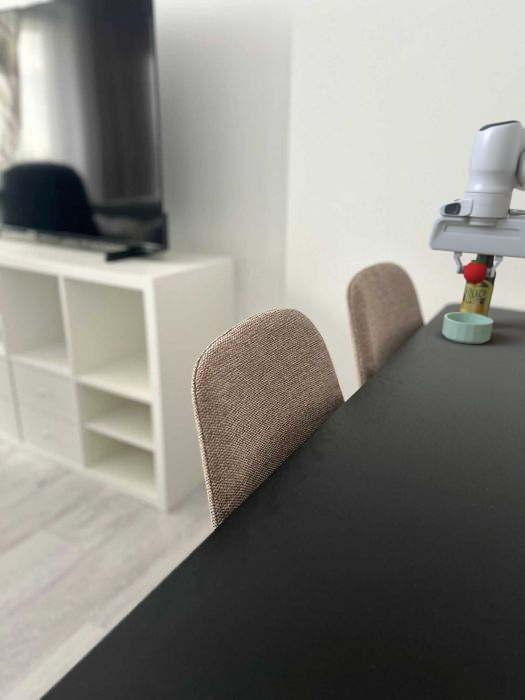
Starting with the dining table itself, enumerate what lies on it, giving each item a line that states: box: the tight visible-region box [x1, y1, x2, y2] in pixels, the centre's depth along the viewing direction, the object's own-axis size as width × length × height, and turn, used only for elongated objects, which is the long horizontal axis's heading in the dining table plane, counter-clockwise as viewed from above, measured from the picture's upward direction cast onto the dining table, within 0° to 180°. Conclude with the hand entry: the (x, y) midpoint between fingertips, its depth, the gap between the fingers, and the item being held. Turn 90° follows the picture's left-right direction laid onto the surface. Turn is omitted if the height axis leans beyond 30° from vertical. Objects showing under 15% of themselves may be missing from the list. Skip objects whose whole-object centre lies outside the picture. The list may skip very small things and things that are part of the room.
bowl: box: [441, 311, 494, 345], centre depth 113 cm, size 10×10×4 cm
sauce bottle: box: [459, 254, 497, 317], centre depth 120 cm, size 7×6×20 cm
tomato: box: [462, 259, 487, 284], centre depth 108 cm, size 5×5×5 cm
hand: (474, 275), depth 109 cm, fingers closed on tomato, 4 cm apart
